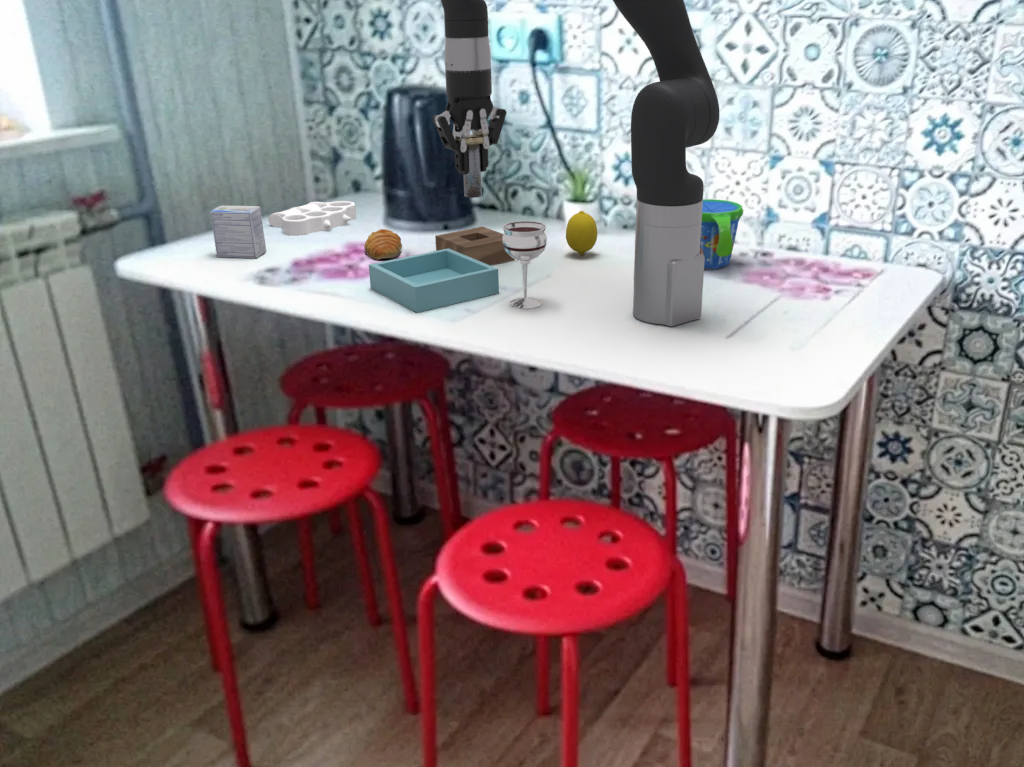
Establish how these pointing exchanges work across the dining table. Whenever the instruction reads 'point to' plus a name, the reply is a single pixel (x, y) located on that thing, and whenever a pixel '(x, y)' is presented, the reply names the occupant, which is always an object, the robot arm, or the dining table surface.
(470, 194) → the lock pin
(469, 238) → the wooden square hole block
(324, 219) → the knuckle duster
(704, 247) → the snack cup
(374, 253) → the pastry
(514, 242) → the wineglass
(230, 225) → the medicine box
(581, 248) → the lemon
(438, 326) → the dining table surface
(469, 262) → the pin tray
